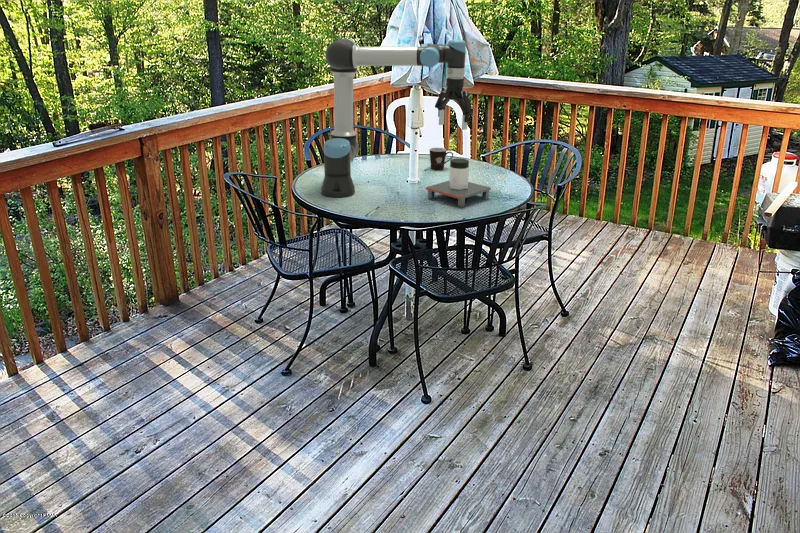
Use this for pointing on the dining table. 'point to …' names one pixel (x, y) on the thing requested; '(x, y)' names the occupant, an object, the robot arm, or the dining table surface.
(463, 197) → the stand
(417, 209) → the dining table surface
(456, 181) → the jar
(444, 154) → the coffee mug
